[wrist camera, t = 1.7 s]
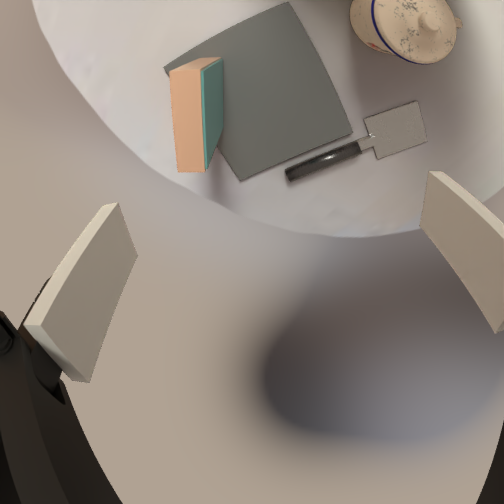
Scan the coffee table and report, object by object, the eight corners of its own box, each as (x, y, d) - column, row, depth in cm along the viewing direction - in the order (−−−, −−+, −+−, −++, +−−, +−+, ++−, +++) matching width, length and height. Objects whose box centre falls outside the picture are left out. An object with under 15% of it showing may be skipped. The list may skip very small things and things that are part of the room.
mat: (164, 66, 28) (163, 67, 28) (287, 2, 23) (288, 1, 22) (240, 178, 39) (240, 180, 38) (352, 131, 33) (353, 132, 33)
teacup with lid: (356, 58, 27) (397, 72, 18) (337, -11, 21) (371, -29, 12) (441, 53, 24) (498, 72, 15) (427, -12, 18) (484, -15, 10)
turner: (296, 189, 40) (298, 196, 38) (277, 153, 36) (278, 159, 35) (426, 140, 33) (432, 145, 31) (416, 100, 29) (422, 104, 28)
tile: (202, 128, 33) (177, 172, 25) (200, 57, 27) (169, 71, 18) (223, 128, 33) (207, 172, 25) (223, 57, 27) (202, 68, 18)
